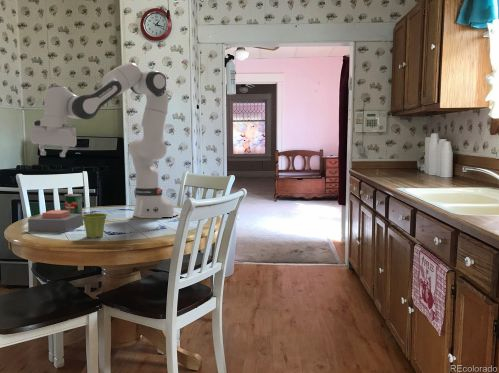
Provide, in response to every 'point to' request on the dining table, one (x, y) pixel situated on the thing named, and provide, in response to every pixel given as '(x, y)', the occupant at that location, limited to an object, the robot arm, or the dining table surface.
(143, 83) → the robot arm
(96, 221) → the plant pot
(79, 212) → the canned tomato
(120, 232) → the dining table surface
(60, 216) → the button
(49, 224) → the button housing
